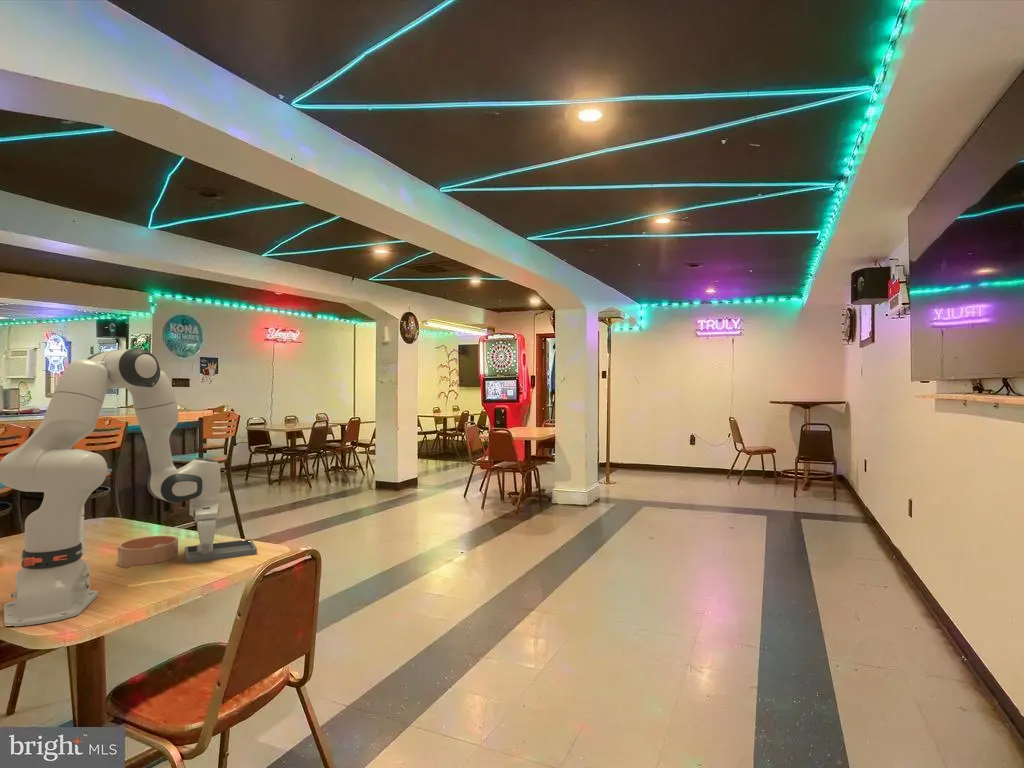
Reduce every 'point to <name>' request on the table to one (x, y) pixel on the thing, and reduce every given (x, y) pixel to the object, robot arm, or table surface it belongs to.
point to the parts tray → (222, 551)
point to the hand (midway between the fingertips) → (204, 551)
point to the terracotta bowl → (147, 550)
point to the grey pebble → (199, 549)
